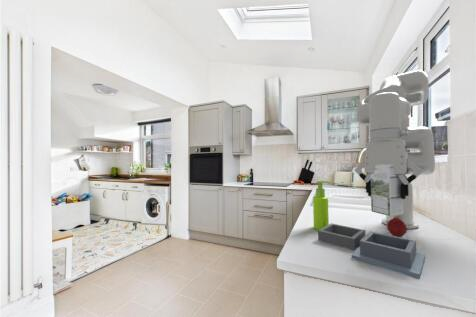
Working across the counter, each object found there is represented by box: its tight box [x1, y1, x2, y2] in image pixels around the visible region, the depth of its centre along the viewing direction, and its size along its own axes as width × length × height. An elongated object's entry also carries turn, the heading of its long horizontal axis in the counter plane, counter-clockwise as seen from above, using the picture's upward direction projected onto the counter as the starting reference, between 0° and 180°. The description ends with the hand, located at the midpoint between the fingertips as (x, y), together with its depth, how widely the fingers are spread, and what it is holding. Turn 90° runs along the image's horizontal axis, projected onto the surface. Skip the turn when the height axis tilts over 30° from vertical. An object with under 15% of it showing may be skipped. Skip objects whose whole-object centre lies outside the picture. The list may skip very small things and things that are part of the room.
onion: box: [386, 216, 408, 238], centre depth 75 cm, size 6×6×8 cm
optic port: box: [350, 231, 426, 279], centre depth 60 cm, size 15×15×5 cm
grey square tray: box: [317, 223, 366, 251], centre depth 74 cm, size 12×12×4 cm
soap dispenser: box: [312, 180, 331, 231], centre depth 87 cm, size 6×7×20 cm
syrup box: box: [370, 164, 403, 216], centre depth 60 cm, size 6×6×14 cm
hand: (386, 196), depth 60 cm, fingers closed on syrup box, 7 cm apart
